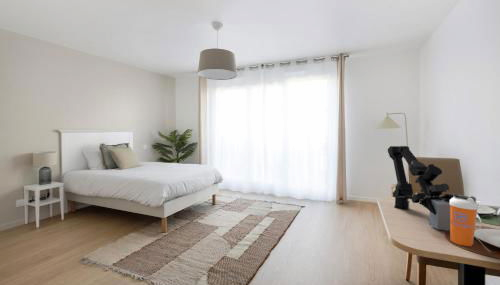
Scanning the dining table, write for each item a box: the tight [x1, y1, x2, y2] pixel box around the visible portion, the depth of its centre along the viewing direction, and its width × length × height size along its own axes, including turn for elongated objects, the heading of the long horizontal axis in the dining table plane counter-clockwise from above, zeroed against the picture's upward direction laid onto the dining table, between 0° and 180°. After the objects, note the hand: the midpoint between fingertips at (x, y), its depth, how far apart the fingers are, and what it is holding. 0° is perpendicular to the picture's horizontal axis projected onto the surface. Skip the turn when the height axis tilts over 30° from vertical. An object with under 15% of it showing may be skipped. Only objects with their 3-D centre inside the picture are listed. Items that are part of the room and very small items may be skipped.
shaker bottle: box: [449, 193, 479, 247], centre depth 98 cm, size 9×9×20 cm
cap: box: [428, 200, 450, 231], centre depth 111 cm, size 6×6×12 cm
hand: (442, 214), depth 110 cm, fingers closed on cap, 6 cm apart
